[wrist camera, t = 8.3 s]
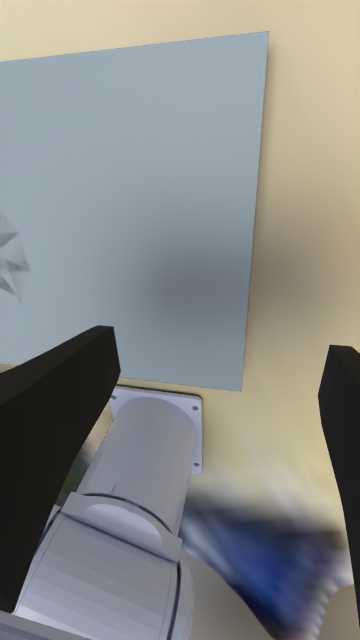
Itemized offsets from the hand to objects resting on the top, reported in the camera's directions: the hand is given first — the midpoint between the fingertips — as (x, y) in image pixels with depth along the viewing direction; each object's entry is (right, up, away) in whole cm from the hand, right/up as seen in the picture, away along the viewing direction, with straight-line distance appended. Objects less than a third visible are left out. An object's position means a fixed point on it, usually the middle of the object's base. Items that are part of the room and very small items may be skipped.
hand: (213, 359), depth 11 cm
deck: (-10, +7, +10) cm, 16 cm away
